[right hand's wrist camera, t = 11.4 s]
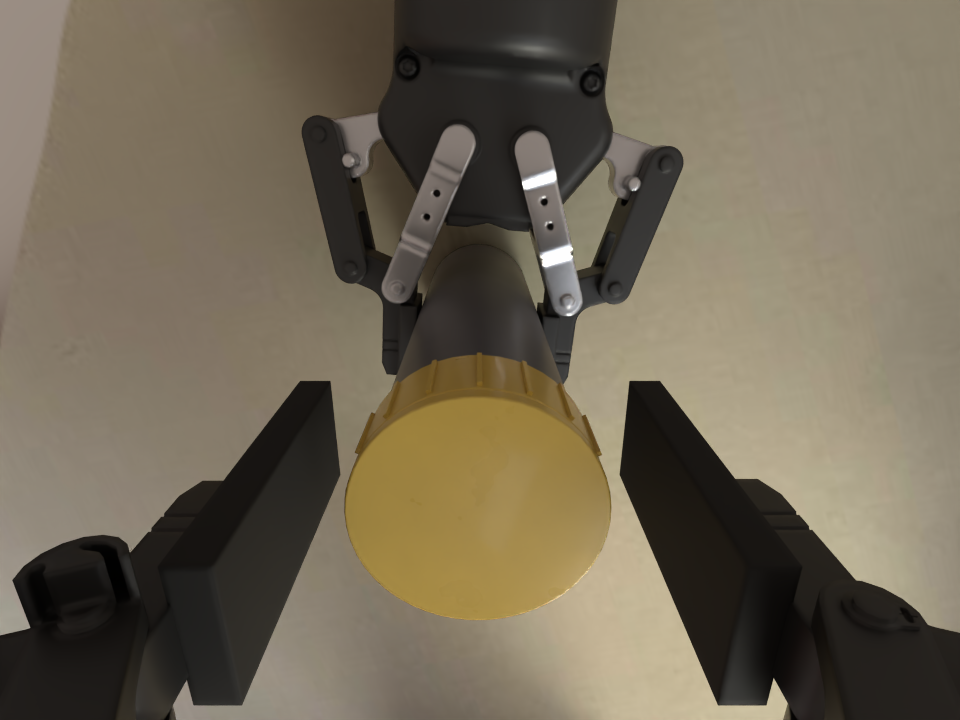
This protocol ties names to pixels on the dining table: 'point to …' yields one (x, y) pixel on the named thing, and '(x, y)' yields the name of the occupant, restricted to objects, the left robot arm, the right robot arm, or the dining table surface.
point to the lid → (477, 490)
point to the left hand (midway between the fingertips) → (474, 385)
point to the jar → (478, 314)
